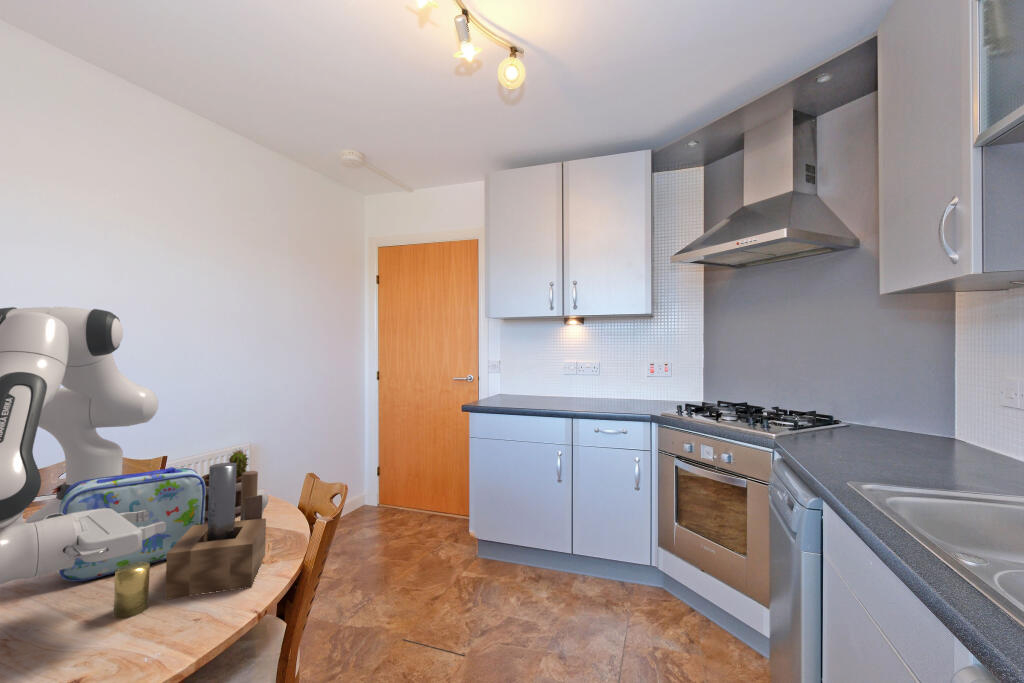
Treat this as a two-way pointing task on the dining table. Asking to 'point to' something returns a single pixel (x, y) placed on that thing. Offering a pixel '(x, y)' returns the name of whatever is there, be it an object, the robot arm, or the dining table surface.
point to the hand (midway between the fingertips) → (156, 520)
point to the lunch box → (156, 492)
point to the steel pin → (221, 501)
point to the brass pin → (131, 589)
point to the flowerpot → (240, 468)
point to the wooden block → (250, 497)
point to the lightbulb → (263, 498)
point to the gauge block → (215, 560)
